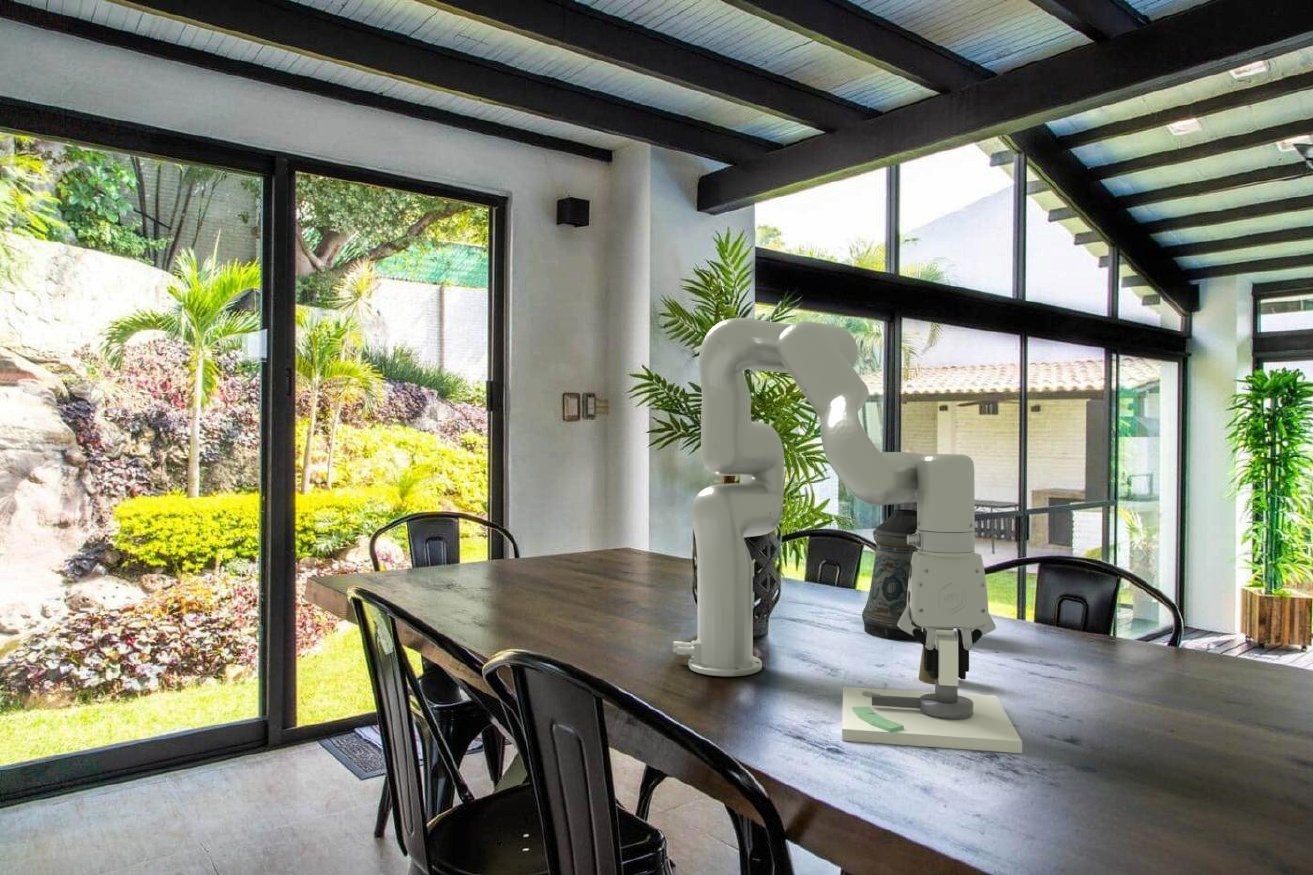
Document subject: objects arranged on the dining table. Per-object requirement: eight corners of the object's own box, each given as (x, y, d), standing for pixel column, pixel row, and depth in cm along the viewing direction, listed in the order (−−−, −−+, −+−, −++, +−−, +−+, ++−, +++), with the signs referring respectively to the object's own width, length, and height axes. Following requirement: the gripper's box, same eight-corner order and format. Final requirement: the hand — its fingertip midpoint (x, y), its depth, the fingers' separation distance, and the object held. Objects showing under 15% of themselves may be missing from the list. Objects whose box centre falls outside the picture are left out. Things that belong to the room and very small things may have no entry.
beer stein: (880, 621, 190) (879, 505, 190) (971, 632, 179) (971, 509, 179) (849, 634, 177) (848, 510, 177) (945, 647, 165) (945, 515, 165)
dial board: (842, 740, 114) (842, 725, 114) (843, 696, 134) (843, 683, 134) (1022, 753, 109) (1022, 737, 109) (996, 706, 129) (996, 692, 129)
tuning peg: (969, 704, 123) (969, 631, 124) (976, 720, 117) (976, 642, 117) (871, 698, 126) (871, 626, 126) (872, 713, 120) (872, 637, 120)
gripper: (891, 546, 117) (892, 683, 117) (1016, 546, 117) (1016, 684, 117) (880, 540, 125) (880, 669, 125) (996, 540, 124) (997, 670, 124)
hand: (946, 675), depth 121 cm, fingers closed on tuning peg, 3 cm apart
